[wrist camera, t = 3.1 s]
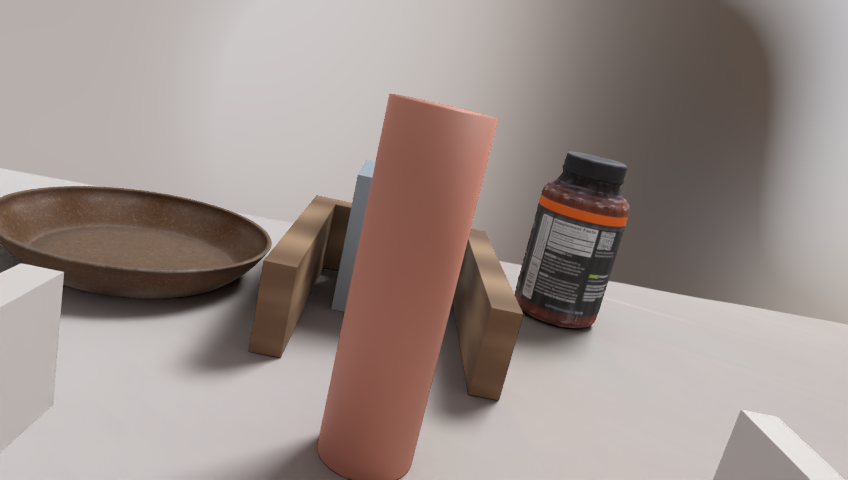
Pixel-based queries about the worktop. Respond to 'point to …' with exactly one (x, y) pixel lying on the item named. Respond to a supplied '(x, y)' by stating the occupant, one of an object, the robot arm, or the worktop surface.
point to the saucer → (130, 240)
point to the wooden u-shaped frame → (322, 247)
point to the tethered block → (400, 282)
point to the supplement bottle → (574, 242)
